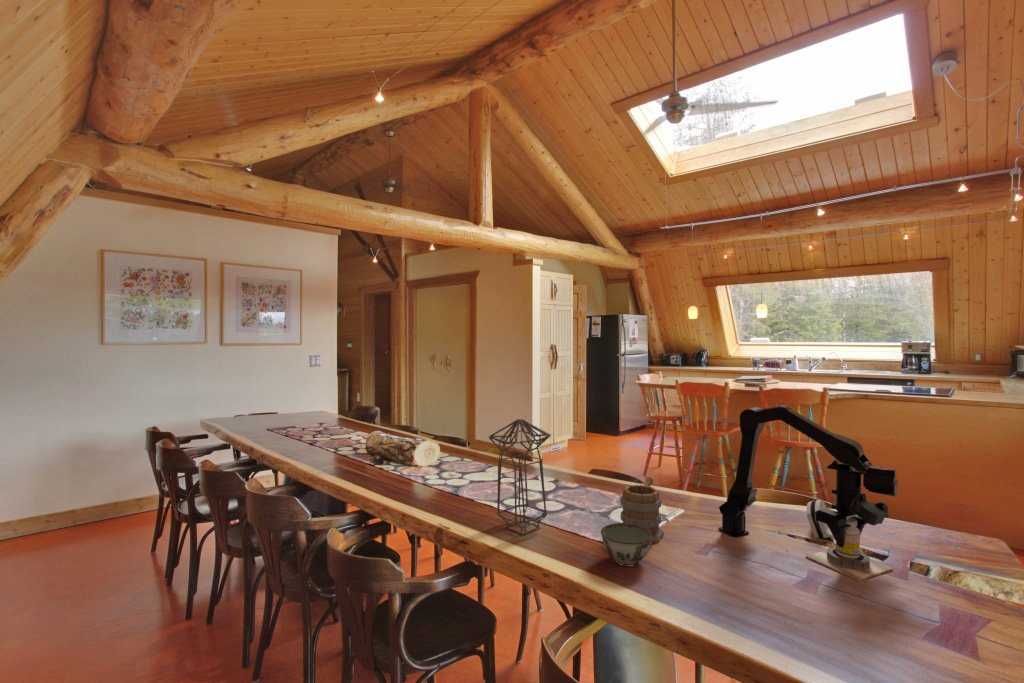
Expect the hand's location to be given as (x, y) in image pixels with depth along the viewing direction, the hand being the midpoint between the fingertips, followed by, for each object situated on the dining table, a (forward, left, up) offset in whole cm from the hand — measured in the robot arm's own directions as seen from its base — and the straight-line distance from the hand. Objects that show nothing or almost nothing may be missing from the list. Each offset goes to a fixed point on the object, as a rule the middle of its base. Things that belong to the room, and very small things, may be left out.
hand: (847, 545), depth 131 cm
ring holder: (0, 0, -5) cm, 5 cm away
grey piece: (+16, +18, -5) cm, 24 cm away
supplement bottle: (0, 0, -3) cm, 3 cm away
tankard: (-36, +40, -5) cm, 54 cm away
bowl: (-54, +25, -5) cm, 60 cm away
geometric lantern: (-71, +58, -5) cm, 92 cm away
